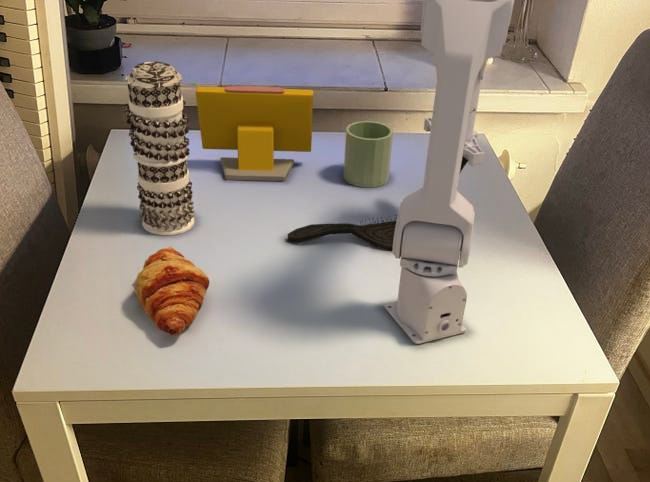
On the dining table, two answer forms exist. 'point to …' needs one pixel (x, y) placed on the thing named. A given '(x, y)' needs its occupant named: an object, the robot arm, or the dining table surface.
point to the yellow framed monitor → (255, 128)
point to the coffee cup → (367, 153)
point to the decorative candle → (160, 147)
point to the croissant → (171, 290)
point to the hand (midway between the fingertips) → (445, 189)
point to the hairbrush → (370, 233)
